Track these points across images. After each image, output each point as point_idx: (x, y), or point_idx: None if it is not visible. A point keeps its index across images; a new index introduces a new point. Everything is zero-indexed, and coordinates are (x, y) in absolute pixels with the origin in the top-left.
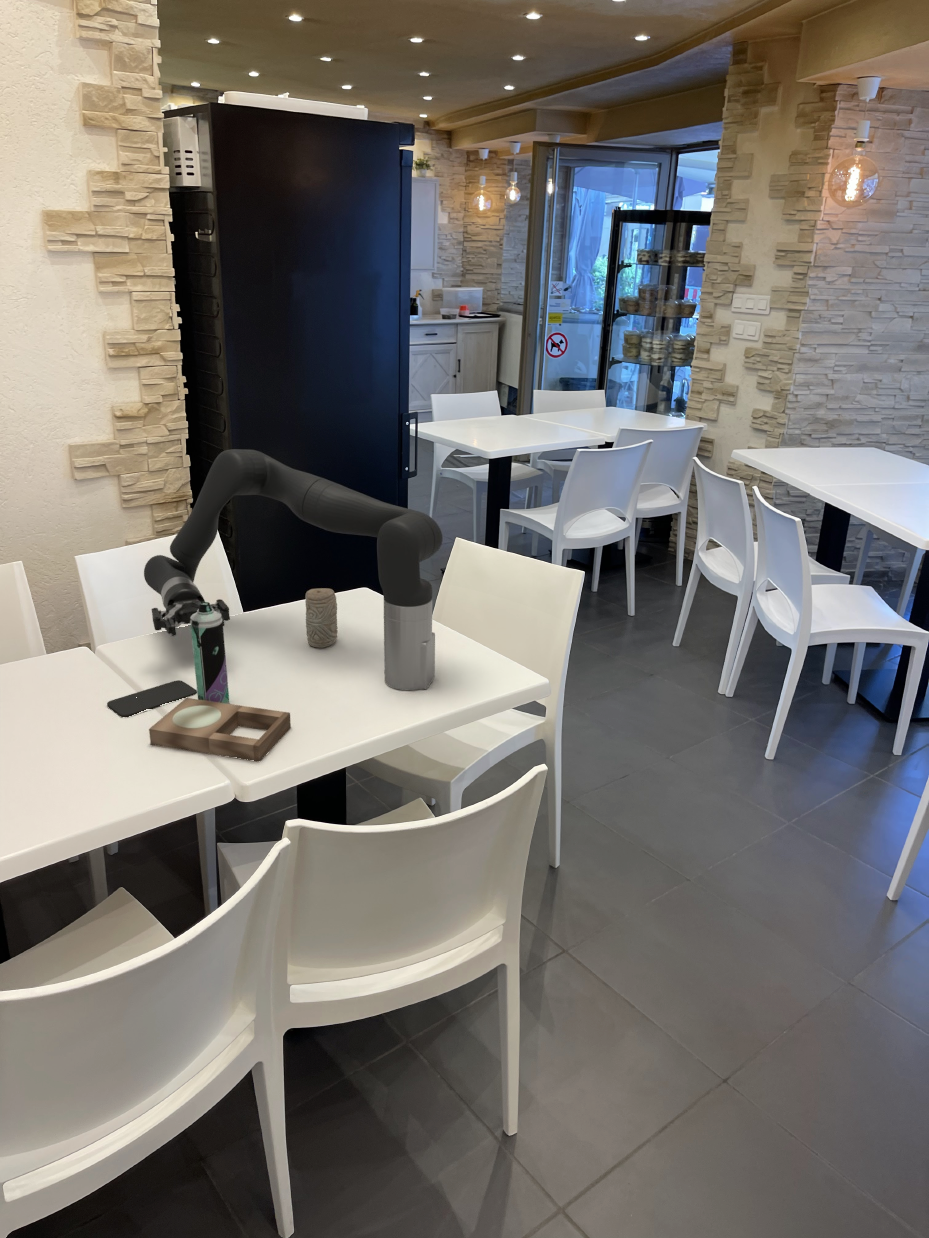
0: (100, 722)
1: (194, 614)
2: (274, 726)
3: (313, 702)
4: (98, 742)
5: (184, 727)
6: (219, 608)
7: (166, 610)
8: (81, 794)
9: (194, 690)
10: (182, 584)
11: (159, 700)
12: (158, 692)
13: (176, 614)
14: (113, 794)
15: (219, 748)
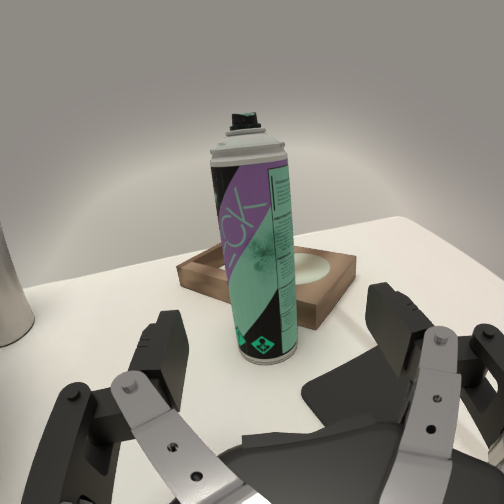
0: (446, 315)
1: (273, 137)
2: (205, 252)
3: (121, 322)
4: (421, 283)
5: (311, 254)
6: (85, 489)
7: (500, 473)
8: (391, 238)
9: (306, 393)
10: None
11: (377, 360)
12: (389, 389)
13: (410, 398)
14: (365, 237)
15: None
